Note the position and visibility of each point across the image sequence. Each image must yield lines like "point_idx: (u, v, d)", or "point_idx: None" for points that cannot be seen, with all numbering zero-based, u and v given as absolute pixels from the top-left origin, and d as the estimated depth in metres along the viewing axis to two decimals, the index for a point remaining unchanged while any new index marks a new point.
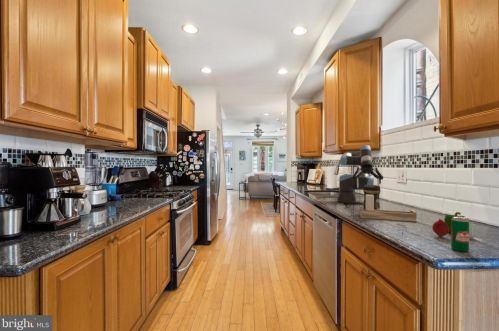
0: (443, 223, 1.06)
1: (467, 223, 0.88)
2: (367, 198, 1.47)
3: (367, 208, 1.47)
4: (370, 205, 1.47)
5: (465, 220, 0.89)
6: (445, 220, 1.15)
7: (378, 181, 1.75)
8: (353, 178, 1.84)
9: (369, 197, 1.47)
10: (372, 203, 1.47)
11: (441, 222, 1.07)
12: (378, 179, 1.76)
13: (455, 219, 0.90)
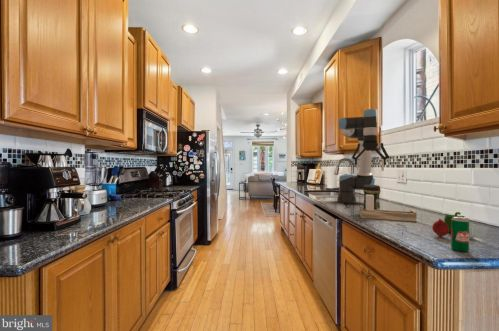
0: (443, 223, 1.06)
1: (467, 223, 0.88)
2: (367, 198, 1.47)
3: (367, 208, 1.47)
4: (370, 205, 1.47)
5: (465, 220, 0.89)
6: (445, 220, 1.15)
7: (382, 163, 1.46)
8: (352, 158, 1.53)
9: (369, 197, 1.47)
10: (372, 203, 1.47)
11: (441, 222, 1.07)
12: (383, 160, 1.46)
13: (455, 219, 0.90)
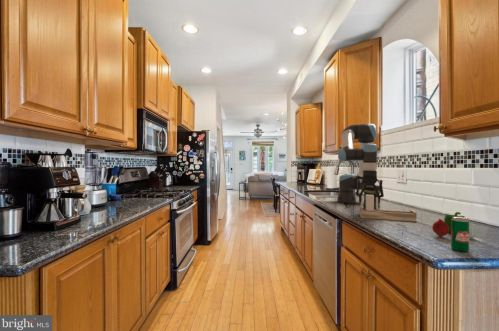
0: (443, 223, 1.06)
1: (467, 223, 0.88)
2: (367, 198, 1.47)
3: (367, 208, 1.47)
4: (370, 205, 1.47)
5: (465, 220, 0.89)
6: (445, 220, 1.15)
7: (377, 202, 1.46)
8: (357, 195, 1.51)
9: (369, 197, 1.47)
10: (372, 203, 1.47)
11: (441, 222, 1.07)
12: (377, 199, 1.46)
13: (455, 219, 0.90)
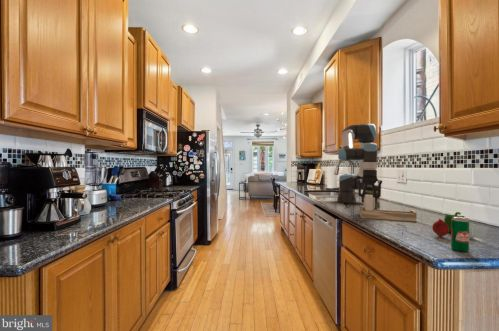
0: (443, 223, 1.06)
1: (467, 223, 0.88)
2: (366, 198, 1.48)
3: (366, 208, 1.48)
4: (369, 205, 1.47)
5: (465, 220, 0.89)
6: (445, 220, 1.15)
7: (373, 202, 1.47)
8: (359, 195, 1.51)
9: (368, 197, 1.47)
10: (371, 203, 1.47)
11: (441, 222, 1.07)
12: (374, 199, 1.47)
13: (455, 219, 0.90)
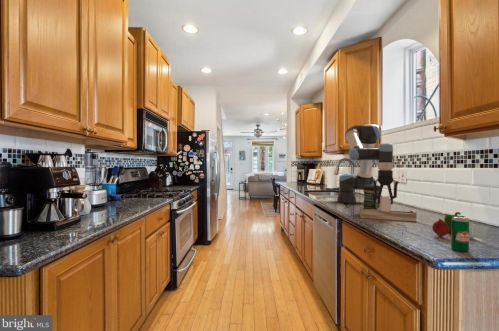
0: (443, 223, 1.06)
1: (467, 223, 0.88)
2: (382, 199, 1.45)
3: (382, 209, 1.45)
4: (386, 206, 1.44)
5: (465, 220, 0.89)
6: (445, 220, 1.15)
7: None
8: None
9: (384, 198, 1.44)
10: (388, 204, 1.44)
11: (441, 222, 1.07)
12: (390, 200, 1.44)
13: (455, 219, 0.90)
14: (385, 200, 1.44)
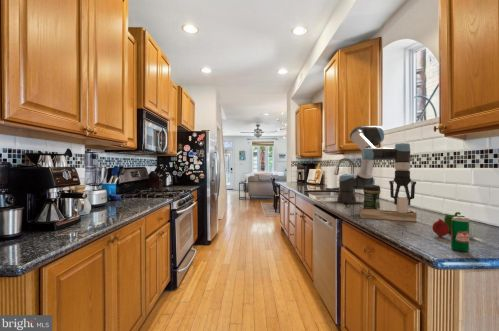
0: (443, 223, 1.06)
1: (467, 223, 0.88)
2: (400, 199, 1.42)
3: (400, 210, 1.42)
4: (403, 207, 1.41)
5: (465, 220, 0.89)
6: (445, 220, 1.15)
7: (407, 204, 1.41)
8: (392, 197, 1.45)
9: (402, 198, 1.41)
10: (405, 205, 1.41)
11: (441, 222, 1.07)
12: (407, 201, 1.41)
13: (455, 219, 0.90)
14: (402, 201, 1.41)
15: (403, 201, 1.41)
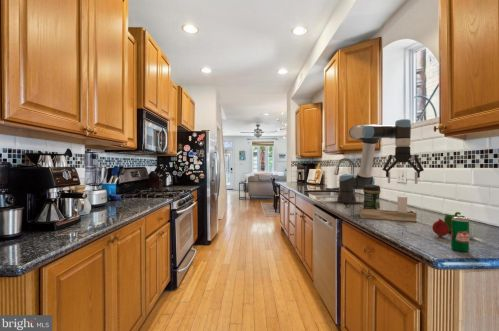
0: (443, 223, 1.06)
1: (467, 223, 0.88)
2: (400, 199, 1.42)
3: (400, 210, 1.42)
4: (403, 207, 1.41)
5: (465, 220, 0.89)
6: (445, 220, 1.15)
7: (416, 176, 1.40)
8: None
9: (402, 198, 1.41)
10: (405, 205, 1.41)
11: (441, 222, 1.07)
12: (416, 173, 1.40)
13: (455, 219, 0.90)
14: (402, 201, 1.41)
15: (403, 201, 1.41)
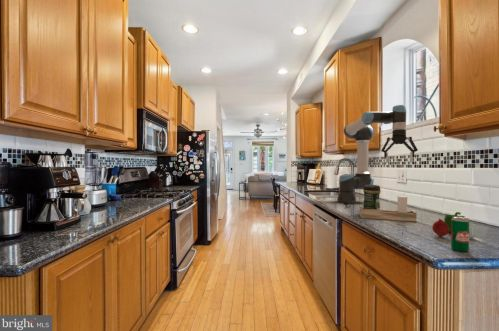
0: (443, 223, 1.06)
1: (467, 223, 0.88)
2: (400, 199, 1.42)
3: (400, 210, 1.42)
4: (403, 207, 1.41)
5: (465, 220, 0.89)
6: (445, 220, 1.15)
7: (411, 156, 1.57)
8: (382, 151, 1.64)
9: (402, 198, 1.41)
10: (405, 205, 1.41)
11: (441, 222, 1.07)
12: (411, 153, 1.57)
13: (455, 219, 0.90)
14: (402, 201, 1.41)
15: (403, 201, 1.41)
